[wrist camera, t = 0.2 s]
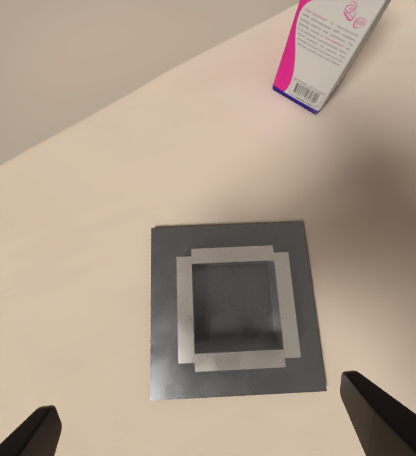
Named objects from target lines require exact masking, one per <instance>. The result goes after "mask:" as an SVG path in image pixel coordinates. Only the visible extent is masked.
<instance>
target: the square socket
mask: <svg viewBox="0 0 416 456" xmlns="http://www.w3.org/2000/svg"><path fill="white" fill-rule="evenodd" d="M319 391H327V389H326V382H325V375H324V368H323V361H322V353H321V346H320V339H319V332H318V325H317V317H316V310H315V303H314V296H313V289H312V281H311V274H310V267H309V260H308V253H307V245H306V238H305V231H304V224H303V222H282V223H258V224H235V225H212V226H188V227H165V228H151V372H150V401H152V400H171V399H189V398H208V397H226V396H245V395H263V394H282V393H300V392H319Z"/></svg>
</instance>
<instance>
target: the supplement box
mask: <svg viewBox="0 0 416 456" xmlns="http://www.w3.org/2000/svg"><path fill="white" fill-rule="evenodd" d="M390 1H391V0H300V2H299V5H298V8H297V11H296V14H295V17H294V21H293V24H292V27H291V30H290V33H289V37H288V40H287V43H286V46H285V49H284V52H283V56H282V59H281V62H280V65H279V68H278V71H277V74H276V77H275V81H274V84H273V88H272V89H273V90H274V91H276V92H278V93H280V94H281V95H283V96H285V97H286V98H288V99H290V100H292V101H293V102H295V103H297V104H299V105H300V106H302V107H304V108H305V109H307V110H309V111H310V112H312V113H314V114H315V115H316V114H317V113H318V112H319V111H320V109H321V108H322V107H323V105H324V104H325V103H326V101H327V100H328V99H329V97H330V96H331V95H332V93H333V92H334V91H335V89H336V88H337V87H338V85H339V84H340V82H341V81H342V79H343V78H344V76H345V74H346V73H347V71H348V69H349V68H350V66H351V64H352V63H353V61H354V60H355V58H356V56H357V55H358V53H359V51H360V50H361V48H362V47H363V45H364V43H365V42H366V40H367V39H368V37H369V35H370V34H371V32H372V30H373V29H374V27H375V26H376V24H377V22H378V21H379V19H380V17H381V16H382V14H383V13H384V11H385V9H386V8H387V6H388V4H389V3H390Z"/></svg>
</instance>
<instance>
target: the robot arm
mask: <svg viewBox="0 0 416 456" xmlns="http://www.w3.org/2000/svg"><path fill="white" fill-rule="evenodd" d="M340 394H341V398H342V401H343V403H344V405H345V408H346V410H347V412H348V415H349V417H350V419H351V422H352V424H353V426H354V429H355V431H356V434H357V436H358V438H359V441H360V443H361V445H362V448H363V450H364V452H365V454H366V456H416V414H415V413H414V412H412V411H411V410H409V409H408V408H407V407H405V406H404V405H403V404H401V403H400V402H399V401H397V400H396V399H394V398H393V397H392V396H390V395H389V394H388V393H386V392H385V391H383V390H382V389H381V388H379V387H378V386H377V385H375V384H374V383H373V382H371V381H370V380H368V379H367V378H366V377H364V376H363V375H362V374H360V373H359V372H357V371H345V372H343V373H342V377H341V386H340ZM61 429H62V424H61V421H60V418H59V415H58V413H57V410H56V408H55V406H53V405H49V406H42V407H39V408H38V409H36V410H35V411H34V412H33V413H32V414H31V415H30V416H29V417H28V418H27V419H26V420H25V421H24V422H23V423H22V424H21V425H20V426H19V427H18V428H16V429H15V430H14V431H13V432H12V433H11V434H10V435H9V436H8V437H7V438H6V439H5V440H4V441H3V442H2V443H1V444H0V456H54V455H55V451H56V448H57V444H58V441H59V437H60V434H61Z"/></svg>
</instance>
